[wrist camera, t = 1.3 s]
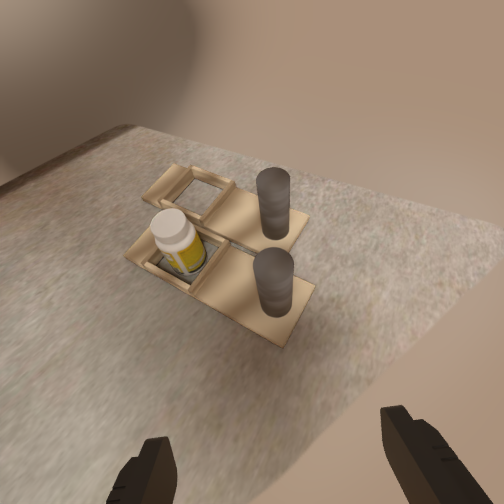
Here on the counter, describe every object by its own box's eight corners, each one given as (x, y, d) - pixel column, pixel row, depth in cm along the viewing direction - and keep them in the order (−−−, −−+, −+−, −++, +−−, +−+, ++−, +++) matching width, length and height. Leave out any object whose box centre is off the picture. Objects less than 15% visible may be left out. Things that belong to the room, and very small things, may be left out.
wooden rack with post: (125, 258, 40) (83, 212, 31) (163, 216, 43) (133, 165, 34) (283, 348, 31) (281, 319, 23) (314, 288, 34) (324, 243, 26)
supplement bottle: (209, 244, 40) (192, 203, 32) (206, 275, 37) (187, 239, 30) (174, 246, 40) (150, 206, 33) (169, 277, 38) (142, 241, 30)
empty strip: (143, 200, 45) (110, 148, 36) (175, 167, 48) (152, 112, 40) (281, 264, 37) (280, 216, 28) (309, 219, 40) (315, 163, 32)
